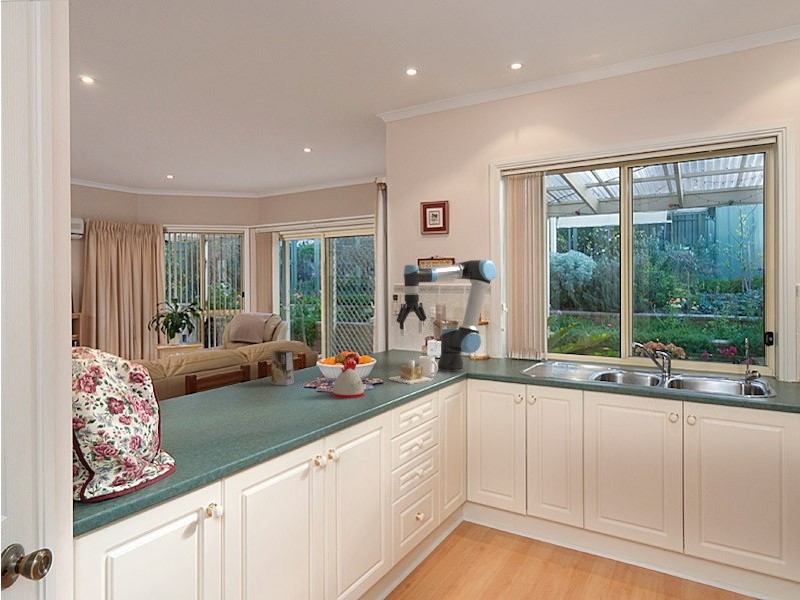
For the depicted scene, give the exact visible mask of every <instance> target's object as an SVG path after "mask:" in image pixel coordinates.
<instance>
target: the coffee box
mask: <svg viewBox="0 0 800 600" xmlns="http://www.w3.org/2000/svg"><path fill="white" fill-rule="evenodd" d="M270 353H271V354H270V355H271V362H270V363H271V385H277V386H285V387H287V386H291V385H293V384H294V383H295V382H294V351H293V350H281V349H278V350H273V351H271V352H270Z"/></svg>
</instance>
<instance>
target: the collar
mask: <svg viewBox="0 0 800 600" xmlns="http://www.w3.org/2000/svg"><path fill="white" fill-rule="evenodd" d="M399 370H400V375H399V376H400V378H403V379H407V380H416V379H422V373H423V367H421V366H419V365H415V367H414V368H409V367H408V364H407V365H401V366H400V369H399Z"/></svg>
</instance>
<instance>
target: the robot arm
mask: <svg viewBox="0 0 800 600" xmlns="http://www.w3.org/2000/svg"><path fill="white" fill-rule="evenodd" d="M495 265H496V264H494V262H493V261H491V260H488V259H478V260H477V259H475V260H473V259H471V260H466V261H462V262H455V263H453V264H449V265H440V266H439V265H437V266H427V267H419V265H418V264H406V265H404V270H403V279H404V281H403V282H404V302H405V303H401V304H400V309H399V312H398V315H397V318H396V323H398V324H399V330H400V336H406V323H405V321H406V319H407V317H408V315H409V314H410V313H413V312H414V313H415V315H416V316H417V318H418V333H419V334H424V325H425V323H424V321H426V320H427V316H426V312H425V310H424V307H423V302H419V301H420V298H419V297H420V296H419V293H420V287H419V284H421V283H435V282H437V281H438V280H447V279H456V280H469V283H470V284H471V285H470V290H469V295H468V299H467V302H466V306H465V307H466V308H465V312H464V317H463V320H462V324H461V325H460V326H459V327H455V328H454V327H453V328H442V329H441V333H440V339H441V340H440V356H439V358H438V362H437V365H438V368H439V367H440V369H444V368H445V370H458V369H459V368H461V369H463V368H464V362H463V358H462V354H461V353H466V354H473V353H476V352H477V351H478V350H479V349H480V347H481V344H482V339H481V336H480V335H479V334H480V330H479V329H478V326H479V323H480V322H479V321H480V317H481V313H482V309H483V303H484V299H485V296H486V290H487V287H489V286H491V285H490V284H491V281H493V280H494V279H495V278H496V276H497V268H496V266H495ZM459 370H460V369H459Z"/></svg>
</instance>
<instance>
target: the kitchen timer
mask: <svg viewBox="0 0 800 600" xmlns="http://www.w3.org/2000/svg"><path fill="white" fill-rule="evenodd" d="M356 367H357V363H355V362H354V361H352V362H351V361H346V363H345V364H343V367H340V368H341V372H340V373H339V374H338V376H337V377H336V378H335V380H334V381H335V382H334V384H333V387H332V397H334V396H335V397H334V398H337V397H339V398H338V399H344V398H352V399H358V397H359V398H362V397H364V396H365V390H364V389H365V388H364V384H363V380H362V378H361V377H360V376H359V374H358V373H357V372H356Z"/></svg>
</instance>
